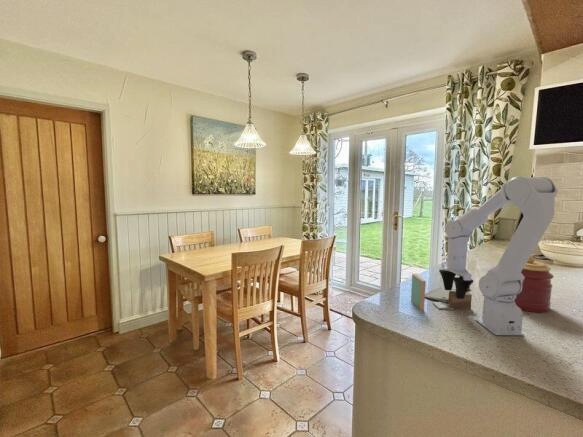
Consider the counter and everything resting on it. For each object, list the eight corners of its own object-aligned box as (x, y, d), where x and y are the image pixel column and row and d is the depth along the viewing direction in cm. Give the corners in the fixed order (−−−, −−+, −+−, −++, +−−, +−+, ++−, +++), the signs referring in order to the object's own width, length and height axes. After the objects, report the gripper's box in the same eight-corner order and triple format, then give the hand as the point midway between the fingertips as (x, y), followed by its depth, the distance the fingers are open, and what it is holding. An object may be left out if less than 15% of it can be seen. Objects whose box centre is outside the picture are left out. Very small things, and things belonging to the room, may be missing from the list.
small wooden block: (472, 310, 96) (473, 295, 96) (438, 309, 97) (439, 295, 96) (464, 304, 101) (465, 290, 101) (432, 303, 102) (433, 289, 101)
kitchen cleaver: (450, 282, 122) (476, 286, 114) (450, 284, 122) (476, 289, 114) (419, 294, 108) (447, 300, 100) (419, 297, 108) (447, 303, 100)
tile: (424, 310, 96) (425, 281, 95) (420, 310, 96) (421, 281, 95) (414, 300, 104) (415, 273, 103) (410, 300, 104) (412, 273, 103)
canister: (531, 315, 93) (536, 261, 91) (493, 300, 105) (497, 252, 103) (559, 310, 96) (565, 259, 94) (520, 296, 108) (524, 250, 107)
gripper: (434, 250, 105) (432, 286, 107) (456, 261, 91) (453, 302, 92) (454, 250, 105) (451, 286, 107) (479, 261, 91) (475, 302, 92)
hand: (453, 294), depth 99 cm, fingers open, 7 cm apart
